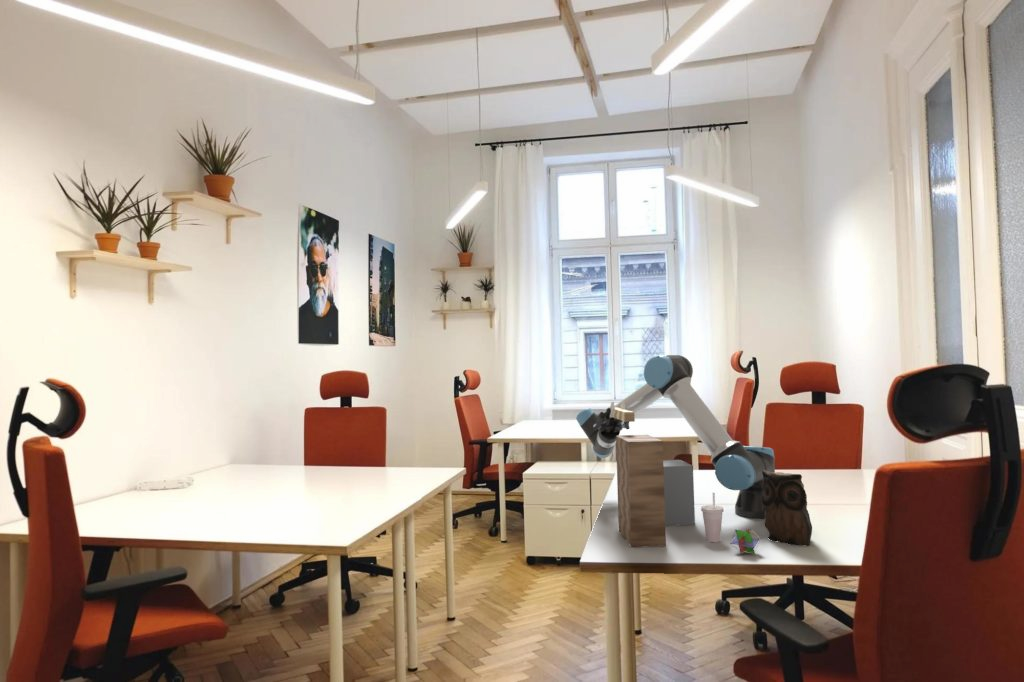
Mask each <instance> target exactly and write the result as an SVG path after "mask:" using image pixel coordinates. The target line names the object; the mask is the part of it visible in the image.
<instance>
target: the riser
mask: <svg viewBox="0 0 1024 682" xmlns="http://www.w3.org/2000/svg"><path fill="white" fill-rule="evenodd" d="M663 467H664V498H665V525H674V526H695V525H696V517H695V515H696V514H695V512H696V511H695V488H694V487H695V485H694V484H695V483H694V465H693V464H690V463H689V462H686V461H683V460H681V459H666V460H665V459H663ZM694 524H695V525H694Z"/></svg>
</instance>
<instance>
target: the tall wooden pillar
mask: <svg viewBox="0 0 1024 682" xmlns="http://www.w3.org/2000/svg"><path fill="white" fill-rule="evenodd" d="M615 447H616V449H615V450H616V477H617V478H616V480H617V481H616V482H617V516H618V519H617V520H618V522H617V523H618V532H620V533H621V534H622V535H623V536H622V535H621V534H620V533H619V534H620V535H621V536H622V538H623V539H624V538H625V539H626V540H627V541H626V540H625V539H624V540H625V541H626V542H627V543H628V544H630V545H631V546H630V545H629V546H630V547H631V548H643V547H644V546H651V547H666V546H667V538H666V537H667V536H666V526H665V498H664V467H663V460H664V444H663V440H661V439H658V438H656V437H654V436H652V435H649V434H629V435H624V434H623V435H621V434H619V436H616V443H615ZM642 546H643V547H642Z"/></svg>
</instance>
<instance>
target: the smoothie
mask: <svg viewBox="0 0 1024 682" xmlns="http://www.w3.org/2000/svg"><path fill="white" fill-rule="evenodd" d="M715 497H716V496H715V492H712V505H710V504H707V505H702V506H700V507H701V508H700V511H701V512H702V519H703V525H704V532H705V536H706V537H705V538H706V541H707V542H709V543H719V541H720V542H721V536H722V535H721V533H722V532H721V531H722V523H723V522H722V521H723V512H724V507H723V506H720V505H716V499H715Z"/></svg>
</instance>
